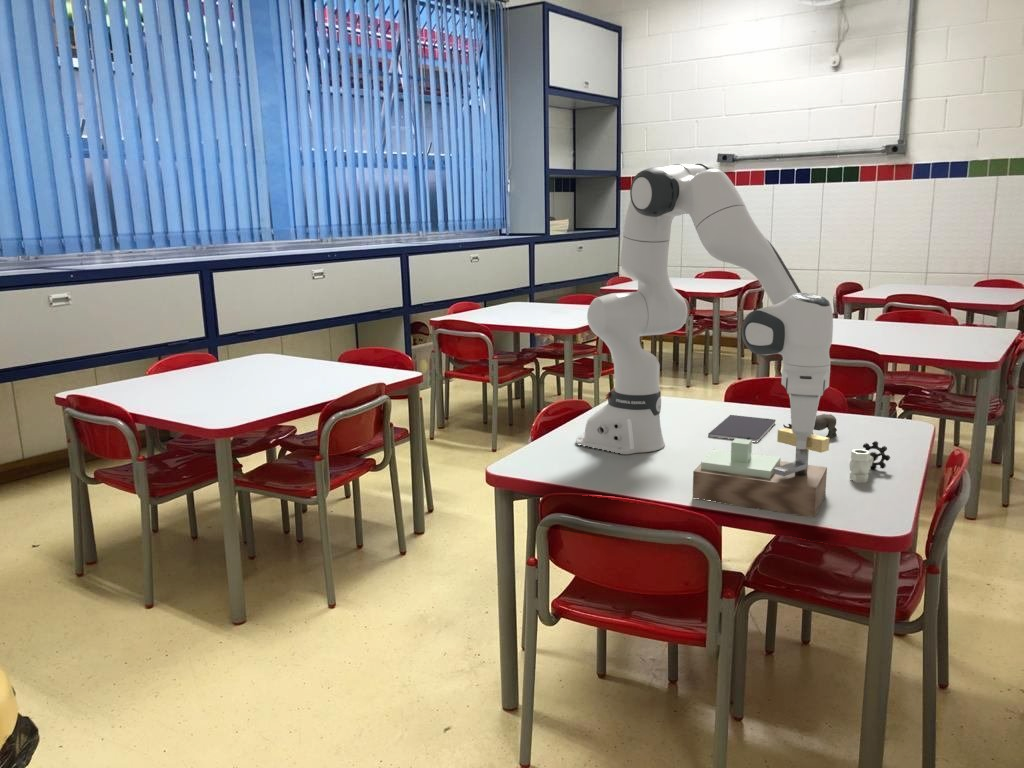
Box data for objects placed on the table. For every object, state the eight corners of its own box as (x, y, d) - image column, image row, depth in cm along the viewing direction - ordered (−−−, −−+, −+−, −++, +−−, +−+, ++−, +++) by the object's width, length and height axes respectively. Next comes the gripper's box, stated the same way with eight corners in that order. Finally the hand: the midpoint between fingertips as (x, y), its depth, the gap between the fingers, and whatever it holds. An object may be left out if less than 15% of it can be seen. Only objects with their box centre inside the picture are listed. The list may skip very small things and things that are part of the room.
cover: (700, 469, 168) (701, 443, 167) (713, 455, 176) (714, 431, 175) (770, 478, 161) (771, 452, 160) (780, 464, 170) (781, 439, 168)
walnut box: (692, 498, 168) (693, 471, 166) (710, 478, 180) (711, 452, 178) (814, 517, 156) (816, 488, 155) (825, 494, 168) (827, 467, 167)
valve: (871, 486, 173) (889, 471, 182) (873, 456, 172) (891, 443, 180) (839, 479, 177) (859, 466, 186) (841, 450, 176) (861, 438, 185)
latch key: (800, 488, 155) (802, 446, 153) (756, 475, 162) (758, 435, 161) (826, 478, 160) (829, 438, 158) (783, 466, 168) (785, 427, 166)
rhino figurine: (780, 433, 213) (782, 411, 212) (835, 434, 212) (836, 412, 210) (784, 438, 209) (785, 415, 208) (839, 438, 208) (840, 416, 206)
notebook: (730, 420, 230) (708, 439, 212) (730, 414, 229) (708, 433, 211) (776, 424, 223) (757, 445, 205) (776, 419, 223) (757, 439, 205)
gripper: (789, 365, 169) (785, 429, 172) (787, 387, 151) (783, 458, 154) (821, 367, 167) (817, 431, 170) (823, 389, 148) (818, 461, 152)
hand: (801, 444), depth 162 cm, fingers closed on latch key, 4 cm apart
